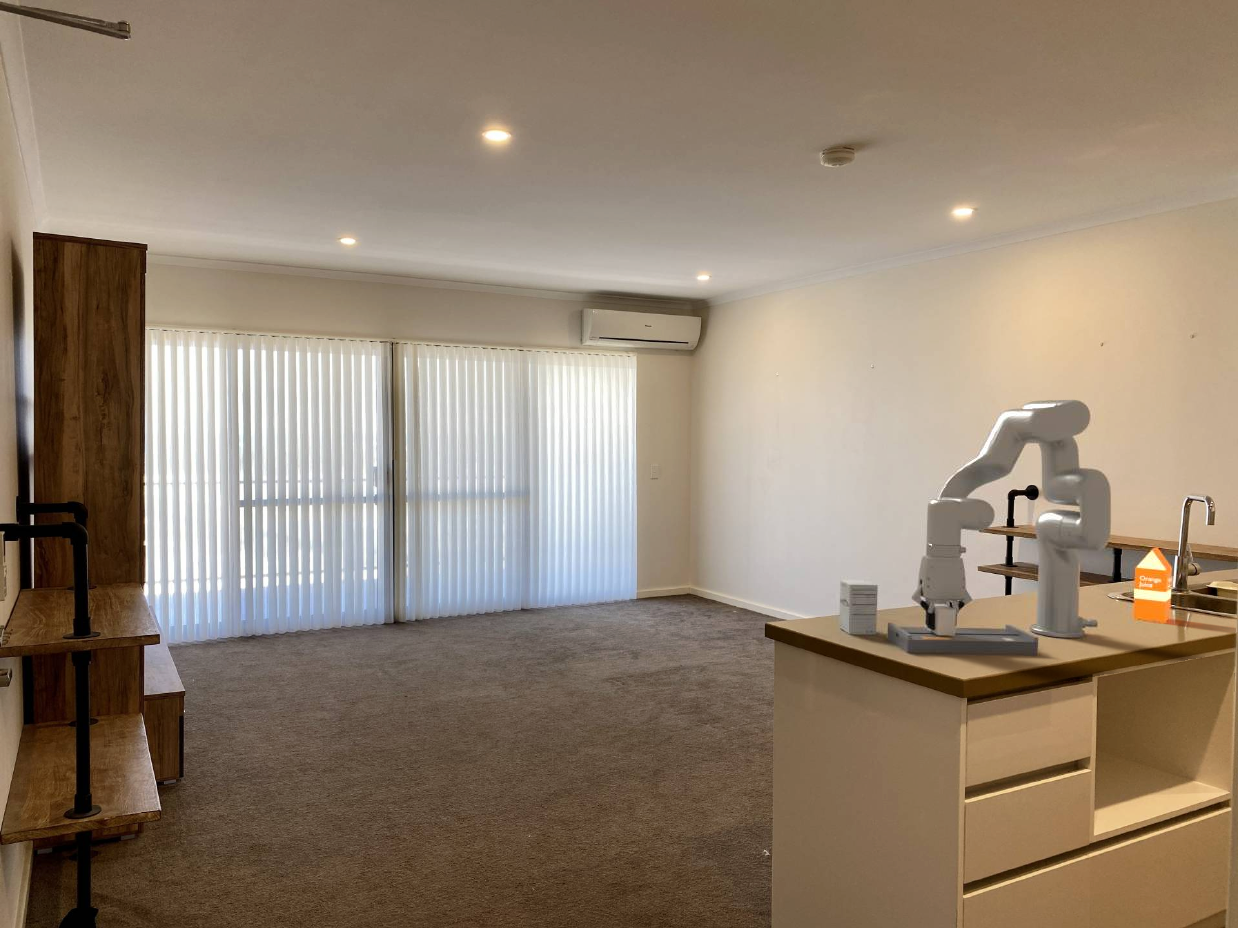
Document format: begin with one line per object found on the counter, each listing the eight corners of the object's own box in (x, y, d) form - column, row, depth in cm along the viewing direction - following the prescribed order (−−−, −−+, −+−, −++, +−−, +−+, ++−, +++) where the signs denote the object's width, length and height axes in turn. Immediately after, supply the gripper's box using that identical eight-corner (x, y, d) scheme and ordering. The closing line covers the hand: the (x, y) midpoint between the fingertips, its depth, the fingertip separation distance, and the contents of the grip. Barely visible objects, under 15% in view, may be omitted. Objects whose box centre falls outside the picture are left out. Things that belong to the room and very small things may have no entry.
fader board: (1009, 640, 214) (1009, 624, 214) (1037, 654, 200) (1038, 637, 200) (887, 638, 214) (887, 622, 213) (907, 652, 200) (907, 635, 200)
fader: (943, 633, 210) (944, 604, 210) (954, 640, 203) (955, 609, 203) (926, 633, 210) (927, 603, 210) (937, 640, 203) (938, 609, 203)
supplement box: (838, 628, 225) (839, 579, 225) (866, 628, 225) (867, 579, 225) (848, 634, 217) (849, 584, 217) (877, 634, 218) (878, 584, 218)
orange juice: (1132, 619, 245) (1135, 548, 245) (1139, 614, 252) (1141, 545, 252) (1165, 623, 240) (1168, 550, 240) (1170, 618, 247) (1173, 548, 246)
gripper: (971, 550, 210) (969, 626, 211) (902, 549, 210) (900, 625, 210) (985, 554, 203) (982, 633, 203) (913, 553, 202) (911, 631, 203)
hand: (940, 628), depth 207 cm, fingers closed on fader, 4 cm apart
